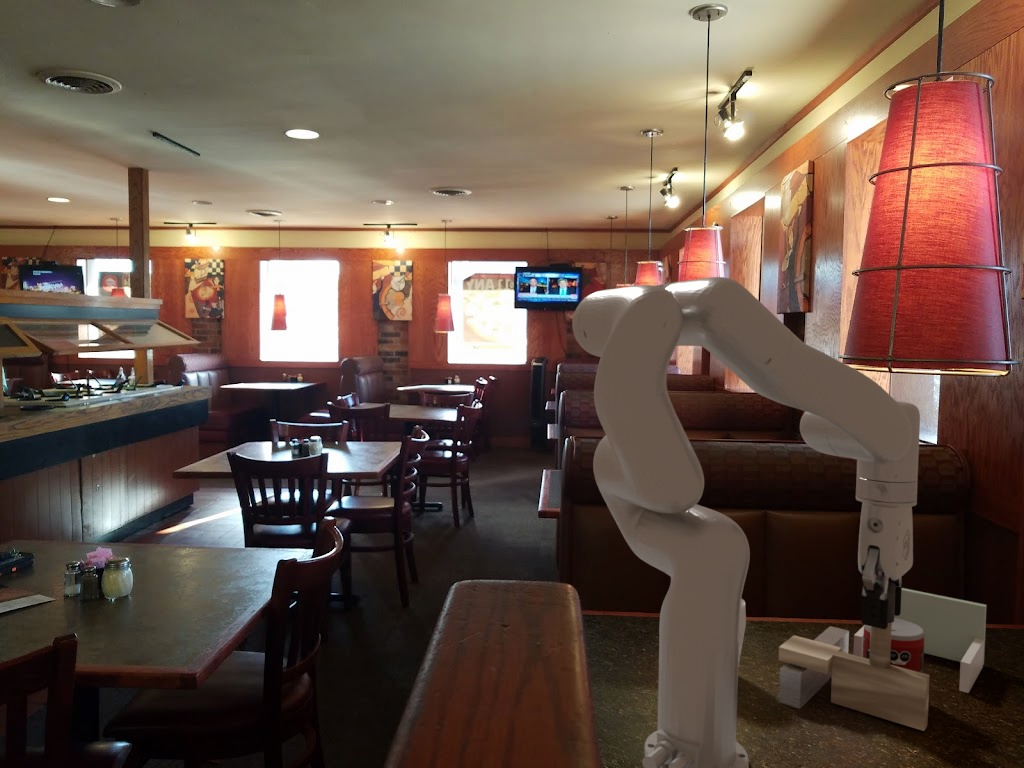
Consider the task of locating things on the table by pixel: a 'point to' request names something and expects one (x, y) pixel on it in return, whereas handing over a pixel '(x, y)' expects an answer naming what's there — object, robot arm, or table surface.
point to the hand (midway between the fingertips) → (881, 618)
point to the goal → (945, 630)
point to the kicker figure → (867, 675)
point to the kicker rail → (808, 672)
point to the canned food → (902, 645)
